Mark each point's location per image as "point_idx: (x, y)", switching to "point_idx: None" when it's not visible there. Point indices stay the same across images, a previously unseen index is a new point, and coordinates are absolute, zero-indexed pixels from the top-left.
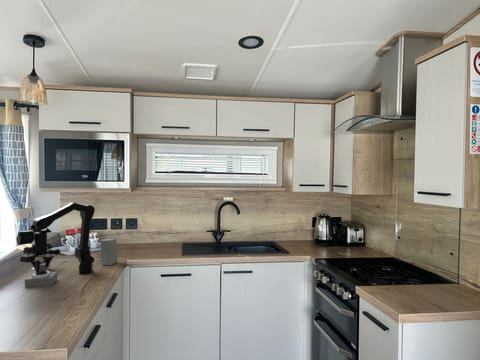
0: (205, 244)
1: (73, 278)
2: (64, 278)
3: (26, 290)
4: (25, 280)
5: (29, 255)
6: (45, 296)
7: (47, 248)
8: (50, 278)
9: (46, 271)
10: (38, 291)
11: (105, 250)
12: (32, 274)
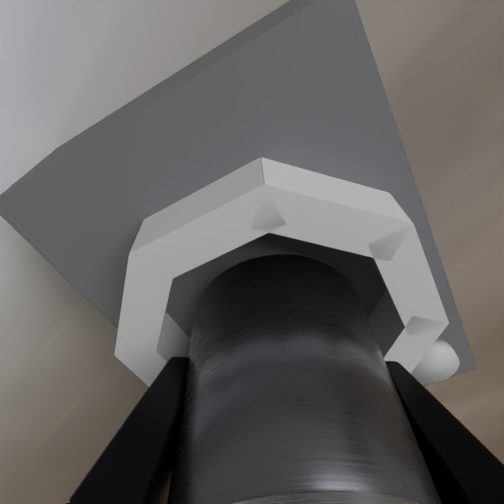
0: None
1: (485, 388)
2: (490, 319)
3: (14, 272)
4: (11, 207)
5: None
6: (48, 483)
7: None
8: None
9: (399, 337)
10: (76, 387)
11: None
12: (143, 258)
